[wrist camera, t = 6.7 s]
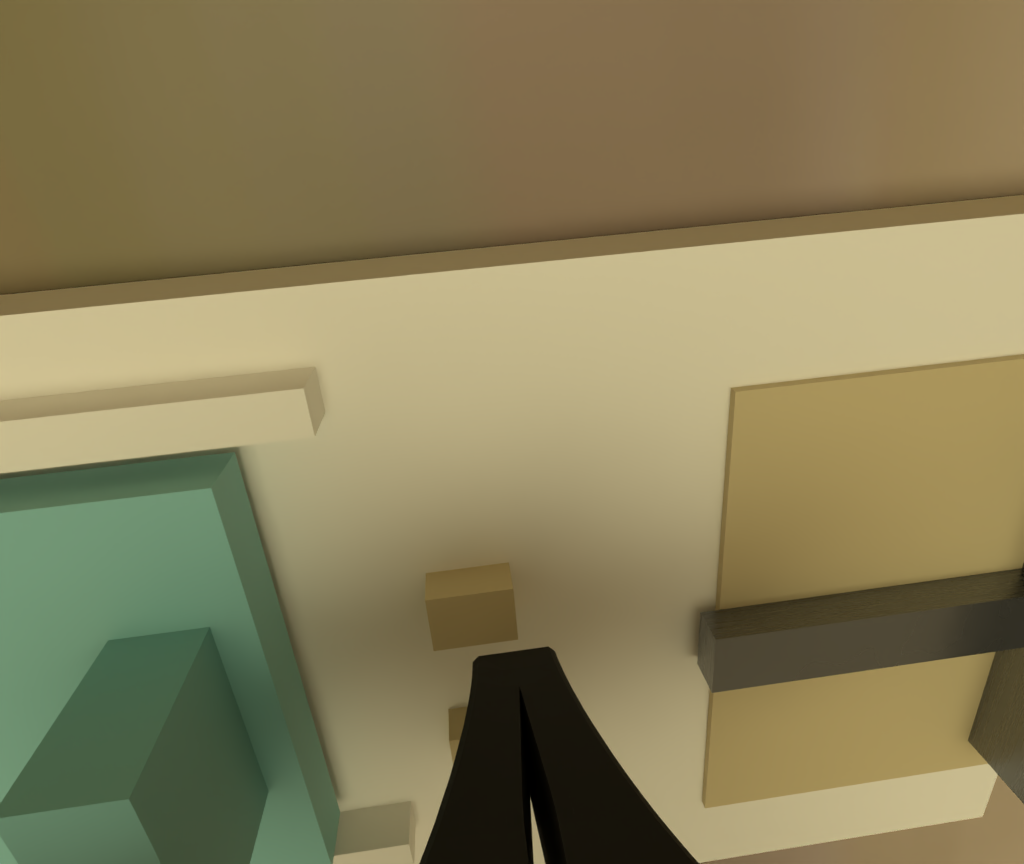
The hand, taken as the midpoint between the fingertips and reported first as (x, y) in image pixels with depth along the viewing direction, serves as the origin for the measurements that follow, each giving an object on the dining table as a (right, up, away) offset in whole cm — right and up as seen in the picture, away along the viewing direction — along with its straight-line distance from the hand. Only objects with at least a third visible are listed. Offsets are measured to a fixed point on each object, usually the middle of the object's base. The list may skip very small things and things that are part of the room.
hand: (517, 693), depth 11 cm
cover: (-9, 0, +1) cm, 9 cm away
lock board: (-1, +1, +4) cm, 4 cm away
